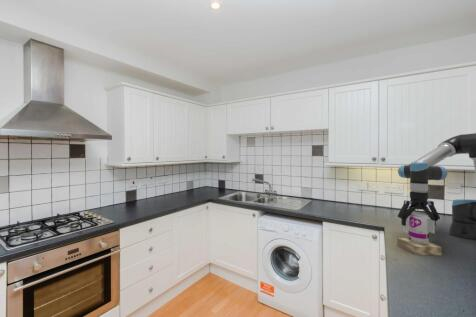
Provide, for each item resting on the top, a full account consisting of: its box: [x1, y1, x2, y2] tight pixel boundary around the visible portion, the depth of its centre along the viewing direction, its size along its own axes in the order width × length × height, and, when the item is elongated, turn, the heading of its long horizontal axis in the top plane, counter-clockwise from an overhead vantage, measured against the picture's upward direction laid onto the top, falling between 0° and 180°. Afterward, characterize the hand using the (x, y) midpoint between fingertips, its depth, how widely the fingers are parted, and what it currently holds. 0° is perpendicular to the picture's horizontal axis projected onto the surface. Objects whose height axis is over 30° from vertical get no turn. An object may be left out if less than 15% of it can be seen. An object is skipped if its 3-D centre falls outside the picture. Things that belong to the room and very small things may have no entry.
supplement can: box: [408, 211, 430, 245], centre depth 120 cm, size 8×8×15 cm
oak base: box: [396, 237, 443, 256], centre depth 120 cm, size 13×13×4 cm
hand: (418, 232), depth 120 cm, fingers open, 13 cm apart
